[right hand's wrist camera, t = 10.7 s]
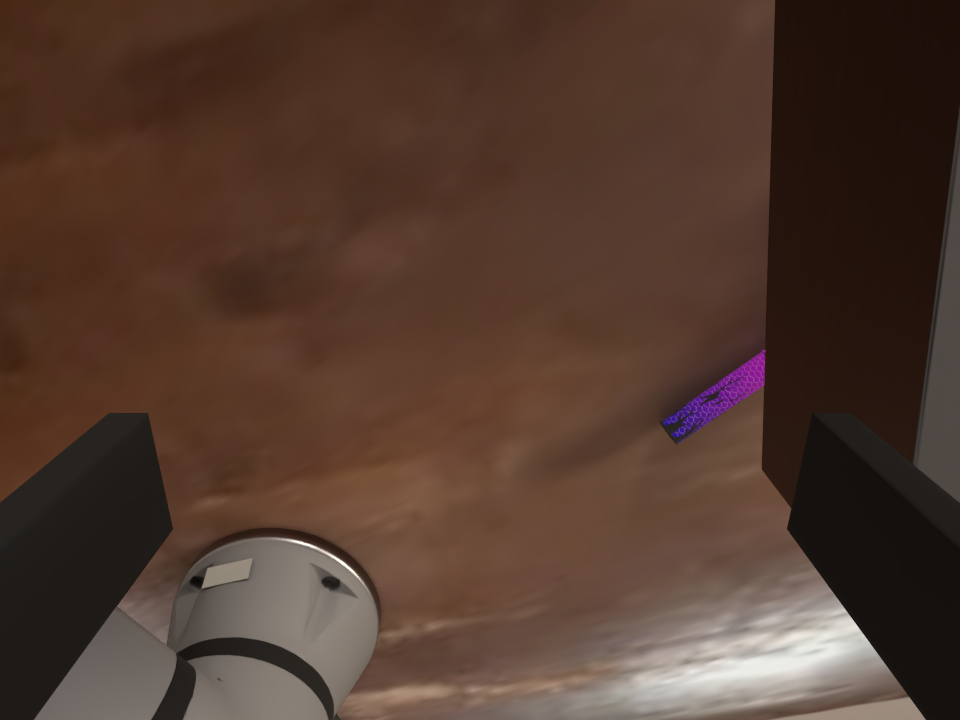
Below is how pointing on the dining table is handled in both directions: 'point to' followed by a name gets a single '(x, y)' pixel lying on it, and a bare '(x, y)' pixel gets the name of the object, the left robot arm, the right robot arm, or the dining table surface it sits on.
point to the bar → (865, 230)
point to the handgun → (716, 399)
